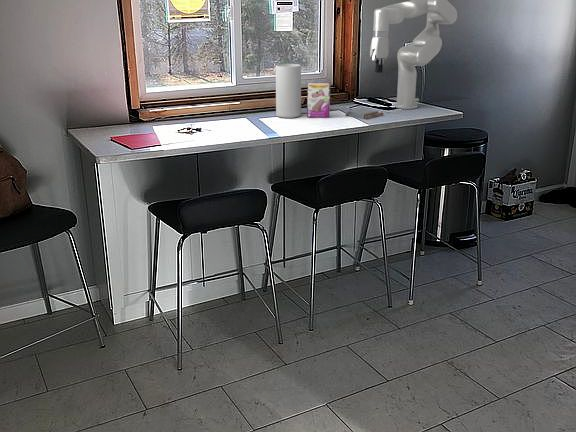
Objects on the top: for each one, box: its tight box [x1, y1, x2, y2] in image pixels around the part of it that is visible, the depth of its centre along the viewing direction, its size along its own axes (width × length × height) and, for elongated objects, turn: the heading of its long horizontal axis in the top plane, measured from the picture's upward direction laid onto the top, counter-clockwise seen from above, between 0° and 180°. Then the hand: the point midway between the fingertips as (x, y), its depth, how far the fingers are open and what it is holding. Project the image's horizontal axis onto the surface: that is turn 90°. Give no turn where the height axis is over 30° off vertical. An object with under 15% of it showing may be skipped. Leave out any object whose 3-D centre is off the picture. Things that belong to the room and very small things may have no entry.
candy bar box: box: [306, 82, 331, 119], centre depth 313 cm, size 11×5×16 cm, turn 84°
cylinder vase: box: [275, 63, 302, 119], centre depth 315 cm, size 12×12×25 cm
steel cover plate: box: [347, 108, 380, 120], centre depth 317 cm, size 12×10×3 cm
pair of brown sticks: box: [345, 111, 384, 120], centre depth 318 cm, size 14×13×2 cm
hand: (378, 72), depth 319 cm, fingers closed
